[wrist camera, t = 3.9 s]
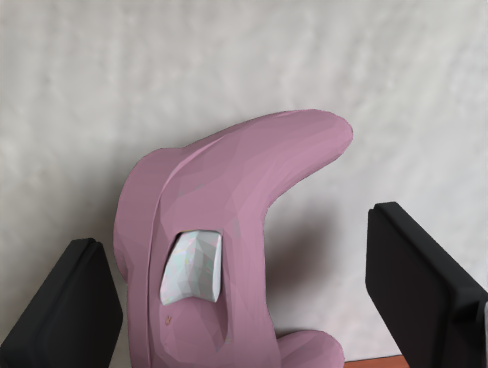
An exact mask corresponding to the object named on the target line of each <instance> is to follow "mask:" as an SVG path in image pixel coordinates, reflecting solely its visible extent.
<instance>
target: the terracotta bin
mask: <svg viewBox="0 0 488 368" xmlns="http://www.w3.org/2000/svg"><path fill="white" fill-rule="evenodd" d="M343 368H410V367H409V365H408V363H407V362H406V360H405V358H404V356H403V355H401V356H393V357H385V358H378V359H370V360H362V361H354V362H347V363H344V367H343Z"/></svg>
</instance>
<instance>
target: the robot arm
mask: <svg viewBox="0 0 488 368" xmlns="http://www.w3.org/2000/svg"><path fill="white" fill-rule="evenodd" d="M365 283H366V289H367V292H368V294H369V296H370V297H371V299H372V301H373V303H374V305H375V306H376V308H377V310H378V312H379V314H380V315H381V317H382V319H383V321H384V322H385V324H386V326H387V328H388V330H389V331H390V333H391V335H392V337H393V338H394V340H395V342H396V344H397V346H398V347H399V349H400V351H401V353H402V355H403V356H404V358H405V360H406V362H407V363H408V365H409V367H410V368H488V293H487V292H486V291H485V290H484V289H483V288H482V287H481V286H480V285H479V284H478V283H477V282H476V281H475V280H474V279H473V278H472V277H471V276H470V275H469V274H468V273H467V272H466V271H465V270H464V269H463V268H462V267H461V266H460V265H459V264H458V263H457V262H456V261H455V260H454V259H453V258H452V257H451V256H450V255H449V254H448V253H447V252H446V251H445V250H444V249H443V248H442V247H441V246H440V245H439V244H438V243H437V242H436V241H435V240H434V239H433V238H432V237H431V236H430V235H429V234H428V233H427V232H426V231H425V230H424V229H423V228H422V227H421V226H420V225H419V224H418V223H417V222H416V221H415V220H414V219H413V218H412V217H411V216H410V215H409V214H408V213H407V212H406V211H405V210H404V209H403V208H402V207H401V206H400V205H399V204H398V203H396V202H387V203H379V204H375V206H374V209H370V210H369V212H368V230H367V254H366V277H365ZM122 323H123V312H122V308H121V305H120V301H119V298H118V294H117V291H116V288H115V284H114V281H113V278H112V274H111V271H110V268H109V264H108V261H107V258H106V254H105V251H104V248H103V245H102V243H101V242H96V240H95V239H94V238H86V239H77V240H72V241H71V242H70V244H69V245H68V247H67V248H66V250H65V251H64V253H63V254H62V256H61V257H60V259H59V260H58V262H57V263H56V265H55V266H54V268H53V269H52V271H51V272H50V274H49V275H48V277H47V278H46V280H45V281H44V283H43V284H42V285H41V287H40V288H39V290H38V291H37V293H36V294H35V296H34V297H33V299H32V300H31V302H30V303H29V305H28V306H27V308H26V309H25V311H24V312H23V314H22V315H21V317H20V318H19V320H18V321H17V323H16V324H15V326H14V327H13V329H12V330H11V331H10V333H9V334H8V336H7V337H6V339H5V340H4V342H3V343H2V345H1V346H0V368H109V365H110V362H111V358H112V355H113V352H114V349H115V346H116V343H117V340H118V336H119V333H120V330H121V327H122Z"/></svg>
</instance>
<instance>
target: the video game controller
mask: <svg viewBox="0 0 488 368" xmlns="http://www.w3.org/2000/svg"><path fill="white" fill-rule="evenodd" d="M352 140H353V130H352V127H351V125H350V124H349V123H348V122H347V121H346V120H345V119H344V118H342V117H340V116H337V115H335V114H333V113H331V112H326V111H321V110H315V109H308V110H295V111H284V112H279V113H274V114H269V115H265V116H261V117H258V118H255V119H252V120H249V121H246V122H243V123H239V124H236V125H234V126H231V127H229V128H227V129H225V130H222V131H220V132H218V133H215V134H213V135H211V136H208V137H206V138H204V139H202V140H199V141H197V142H195V143H192V144H190V145H188V146H186V147H183V148H161V149H158V150H155V151H153V152H151V153H149V154H148V155H146V156H144V157H143V158H142V159H141V160H140V161H139V162H138V163H137V164H136V165H135V167H134V168H133V170H132V171H131V172H130V174H129V176H128V178H127V180H126V182H125V184H124V187H123V189H122V192H121V195H120V198H119V202H118V207H117V212H116V217H115V222H114V227H113V247H114V255H115V260H116V263H117V266H118V269H119V271H120V273H121V275H122V277H123V278H124V280H125V282H126V284H127V285H128V286H127V320H128V336H129V350H130V358H131V364H132V368H343V367H344V359H345V358H344V354H343V350H342V347H341V345H340V344H339V342H338V341H337V340H336V339H334V338H333V337H332V336H330V335H329V334H327V333H325V332H323V331H314V330H303V331H299V332H295V333H291V334H289V335H286V336H284V337H281V338H278V339H276V335H275V331H274V327H273V324H272V321H271V318H270V315H269V312H268V309H267V306H266V284H265V255H264V235H263V225H264V218H265V215H266V213H267V210H268V208H269V207H270V206H271V205H272V204H273V202H274V201H275V200H276V199H277V198H278V197H279V196H281V195H282V194H283V193H284V192H286V191H287V190H288V189H290V188H291V187H292V186H294V185H295V184H296V183H298V182H299V181H301V180H302V179H304V178H306V177H308V176H309V175H311V174H313V173H314V172H316V171H318V170H319V169H321V168H323V167H324V166H326V165H328V164H329V163H331V162H333V161H335V160H336V159H337V158H338V157H339V156H340V155H342V154H343V152H344V151H345V150H346V148H347V147H348V146H349V144H350V143H351V141H352Z"/></svg>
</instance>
